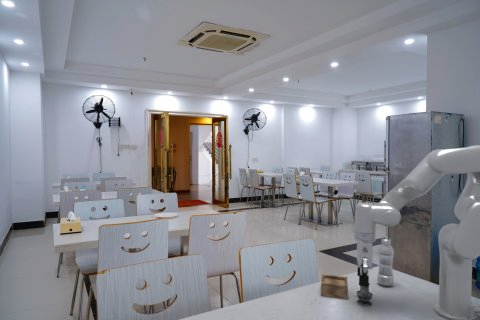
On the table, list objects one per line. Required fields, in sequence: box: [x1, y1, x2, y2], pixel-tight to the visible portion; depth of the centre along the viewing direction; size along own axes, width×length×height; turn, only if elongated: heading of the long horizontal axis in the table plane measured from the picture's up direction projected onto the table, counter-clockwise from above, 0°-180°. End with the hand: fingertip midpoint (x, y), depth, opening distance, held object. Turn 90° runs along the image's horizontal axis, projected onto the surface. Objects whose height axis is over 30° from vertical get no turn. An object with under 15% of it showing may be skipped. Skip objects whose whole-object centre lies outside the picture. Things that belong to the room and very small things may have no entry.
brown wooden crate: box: [320, 273, 349, 301], centre depth 132 cm, size 10×10×5 cm
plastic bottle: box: [377, 237, 395, 287], centre depth 140 cm, size 6×7×20 cm
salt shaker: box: [356, 283, 374, 307], centre depth 123 cm, size 6×6×12 cm
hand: (362, 280), depth 123 cm, fingers open, 9 cm apart
